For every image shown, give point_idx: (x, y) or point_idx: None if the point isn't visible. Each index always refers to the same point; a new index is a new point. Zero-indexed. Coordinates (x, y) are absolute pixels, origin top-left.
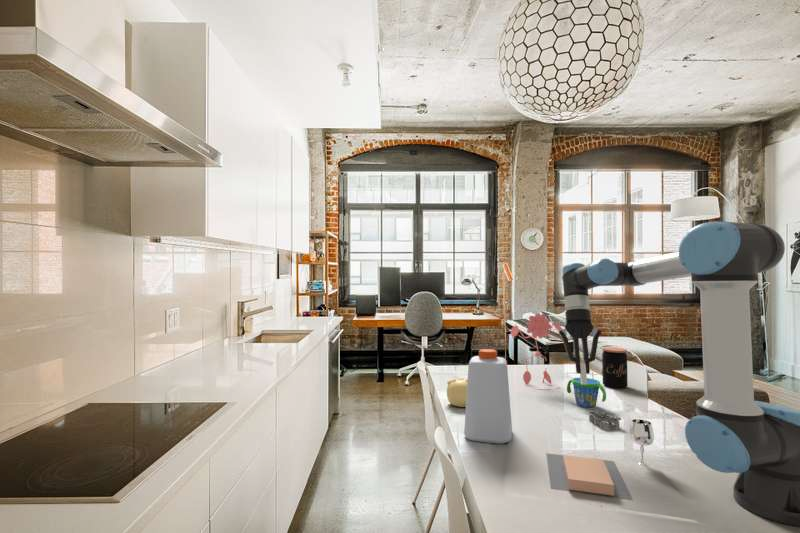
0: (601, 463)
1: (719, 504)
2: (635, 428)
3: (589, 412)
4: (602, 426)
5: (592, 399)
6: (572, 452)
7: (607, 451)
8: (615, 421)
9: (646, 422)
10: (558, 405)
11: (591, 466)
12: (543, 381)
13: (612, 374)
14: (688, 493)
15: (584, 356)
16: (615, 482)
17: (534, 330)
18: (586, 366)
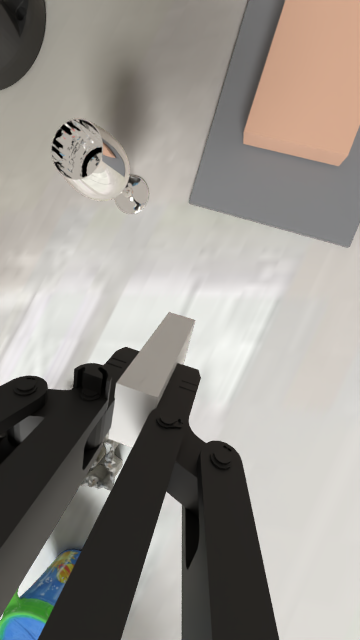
0: (260, 104)
1: (79, 22)
2: (111, 140)
3: (109, 484)
4: None
5: (59, 566)
6: (263, 267)
7: (170, 272)
8: None
9: (58, 169)
10: (151, 585)
11: (300, 80)
12: None
13: None
14: (110, 63)
15: (85, 434)
16: (246, 80)
17: None
18: (118, 377)
